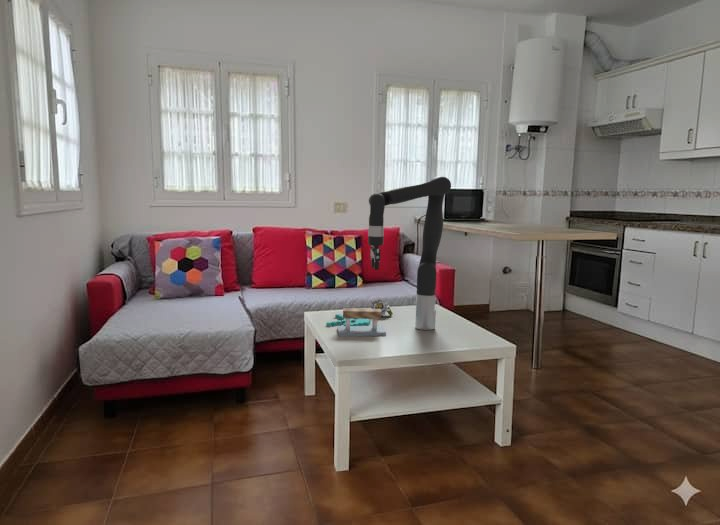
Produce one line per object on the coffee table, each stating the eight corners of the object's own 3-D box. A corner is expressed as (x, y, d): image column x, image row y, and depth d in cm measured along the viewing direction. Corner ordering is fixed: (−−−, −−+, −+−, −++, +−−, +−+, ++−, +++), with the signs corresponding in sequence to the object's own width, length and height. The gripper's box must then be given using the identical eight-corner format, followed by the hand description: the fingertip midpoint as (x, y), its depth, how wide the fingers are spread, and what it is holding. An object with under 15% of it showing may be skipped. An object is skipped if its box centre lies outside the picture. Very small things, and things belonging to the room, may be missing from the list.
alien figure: (326, 327, 243) (365, 330, 239) (326, 322, 243) (365, 325, 239) (336, 317, 262) (372, 320, 258) (336, 313, 262) (372, 316, 258)
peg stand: (381, 328, 241) (381, 313, 240) (386, 335, 229) (386, 319, 228) (337, 329, 238) (337, 314, 237) (339, 336, 226) (339, 320, 225)
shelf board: (380, 315, 235) (380, 308, 235) (381, 318, 229) (381, 311, 229) (343, 315, 235) (343, 308, 235) (343, 318, 229) (343, 311, 229)
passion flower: (378, 327, 263) (366, 310, 260) (378, 319, 273) (366, 302, 270) (395, 317, 261) (383, 300, 258) (395, 309, 271) (383, 292, 268)
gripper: (386, 236, 227) (385, 270, 230) (380, 234, 241) (380, 266, 244) (370, 236, 226) (369, 270, 229) (365, 234, 240) (365, 266, 243)
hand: (375, 268), depth 236 cm, fingers open, 8 cm apart
